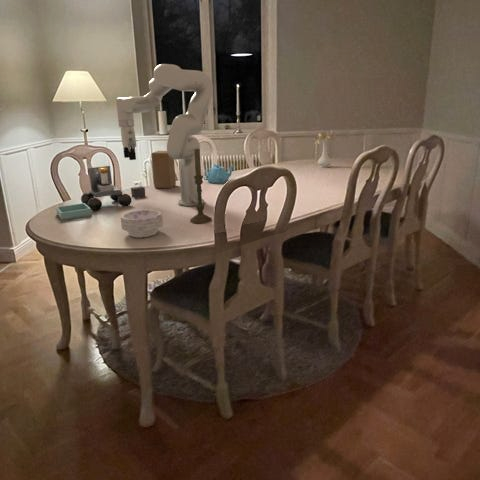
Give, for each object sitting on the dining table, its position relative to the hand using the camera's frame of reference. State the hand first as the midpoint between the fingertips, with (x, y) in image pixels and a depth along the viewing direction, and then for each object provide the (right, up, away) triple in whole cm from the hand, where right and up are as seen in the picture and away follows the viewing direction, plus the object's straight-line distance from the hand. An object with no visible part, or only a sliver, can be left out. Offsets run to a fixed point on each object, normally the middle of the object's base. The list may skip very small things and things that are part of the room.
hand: (130, 158), depth 216 cm
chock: (+3, -19, +7) cm, 20 cm away
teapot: (+44, -7, +39) cm, 59 cm away
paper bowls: (+19, -39, -54) cm, 69 cm away
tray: (-18, -30, -25) cm, 44 cm away
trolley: (-9, -25, -10) cm, 28 cm away
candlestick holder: (+39, -33, -39) cm, 65 cm away
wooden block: (+13, -11, +29) cm, 34 cm away
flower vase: (+114, +9, +79) cm, 139 cm away
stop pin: (-8, -17, -14) cm, 24 cm away
